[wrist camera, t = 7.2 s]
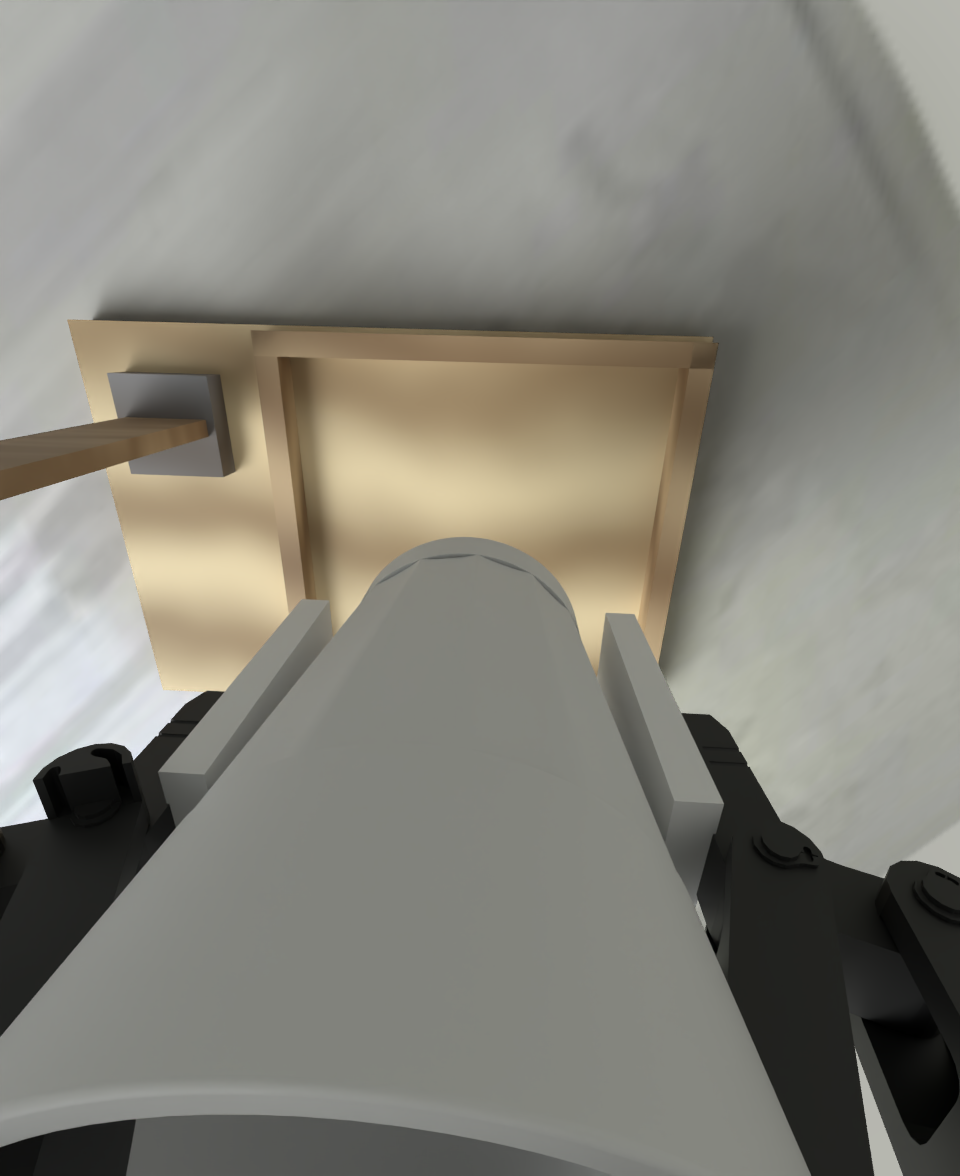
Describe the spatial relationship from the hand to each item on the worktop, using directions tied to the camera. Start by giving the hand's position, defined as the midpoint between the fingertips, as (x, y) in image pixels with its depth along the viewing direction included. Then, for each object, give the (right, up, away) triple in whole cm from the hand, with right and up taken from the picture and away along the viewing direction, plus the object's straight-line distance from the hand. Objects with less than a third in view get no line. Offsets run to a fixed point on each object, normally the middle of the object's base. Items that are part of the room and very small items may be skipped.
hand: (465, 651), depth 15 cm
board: (-3, +4, +9) cm, 10 cm away
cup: (0, 0, +1) cm, 1 cm away
